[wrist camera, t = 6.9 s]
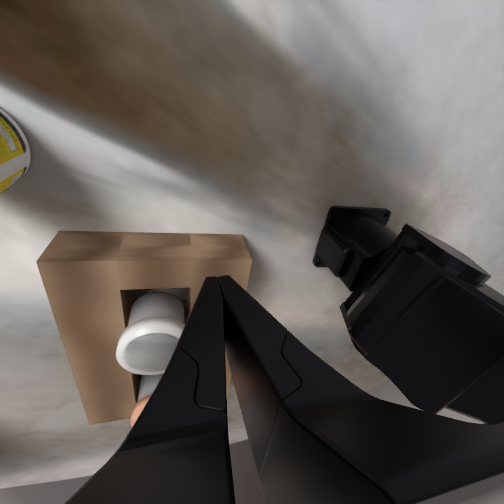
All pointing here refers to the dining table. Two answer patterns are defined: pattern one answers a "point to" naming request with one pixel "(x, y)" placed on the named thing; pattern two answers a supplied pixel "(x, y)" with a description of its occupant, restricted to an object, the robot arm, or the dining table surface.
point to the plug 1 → (151, 333)
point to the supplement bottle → (12, 152)
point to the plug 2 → (144, 394)
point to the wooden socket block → (124, 299)
